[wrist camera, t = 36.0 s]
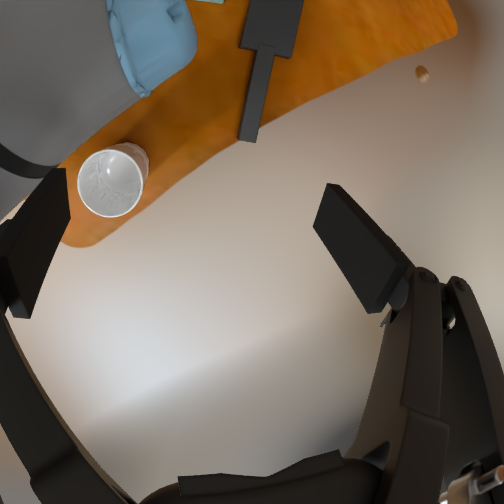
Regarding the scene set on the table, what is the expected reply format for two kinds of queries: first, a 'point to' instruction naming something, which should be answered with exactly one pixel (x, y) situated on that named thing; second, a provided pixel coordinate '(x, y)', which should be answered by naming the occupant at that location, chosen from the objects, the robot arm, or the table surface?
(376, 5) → the table surface
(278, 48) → the spatula
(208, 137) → the table surface
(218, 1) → the mounting bracket
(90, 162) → the white cup
